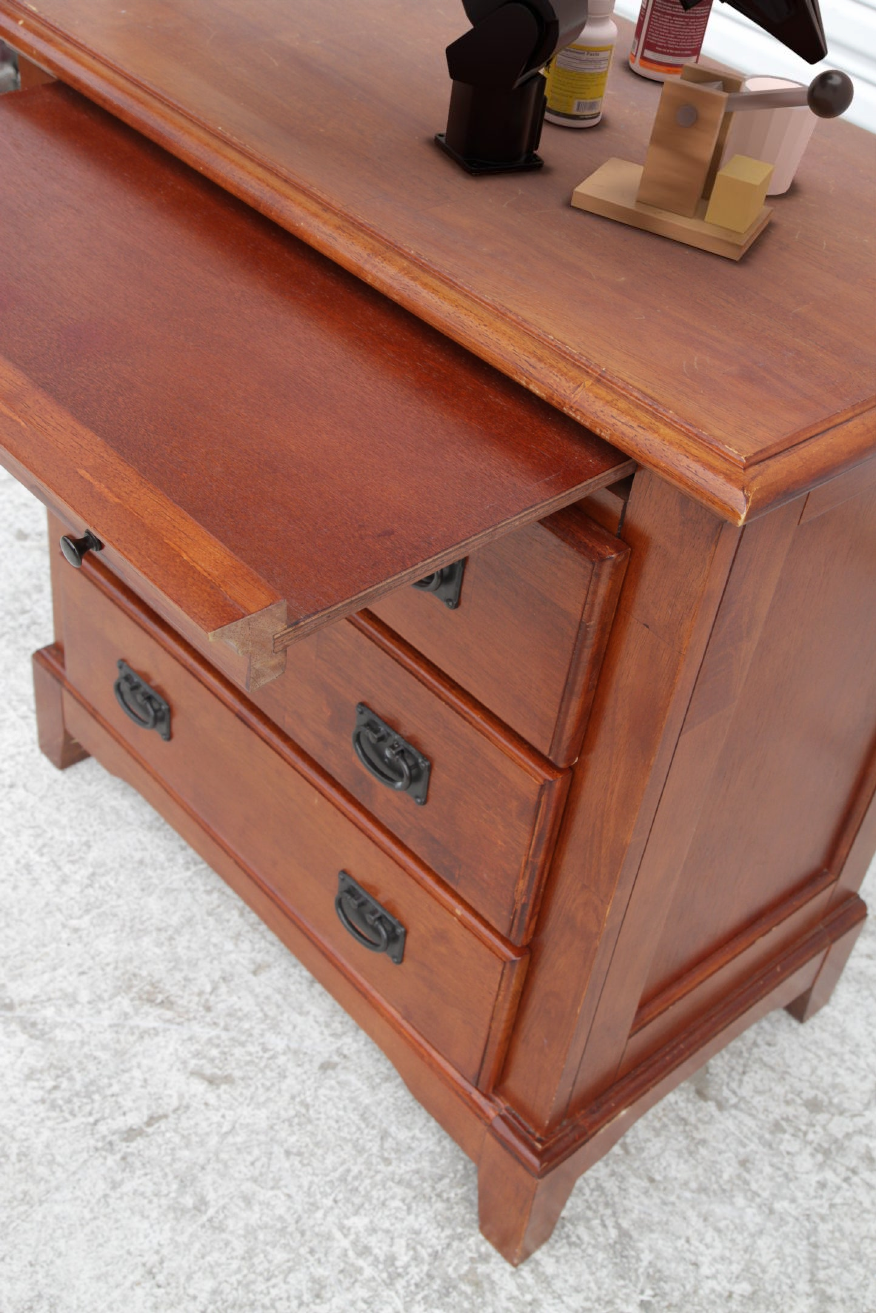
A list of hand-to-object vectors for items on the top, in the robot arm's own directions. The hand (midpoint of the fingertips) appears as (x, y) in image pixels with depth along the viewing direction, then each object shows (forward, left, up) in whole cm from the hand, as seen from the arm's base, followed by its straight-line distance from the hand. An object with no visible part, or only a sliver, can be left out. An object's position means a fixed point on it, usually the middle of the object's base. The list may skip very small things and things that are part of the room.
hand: (820, 60), depth 85 cm
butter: (-2, +2, -12) cm, 12 cm away
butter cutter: (-4, +6, -13) cm, 15 cm away
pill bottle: (+13, +32, -13) cm, 37 cm away
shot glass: (+7, +10, -13) cm, 18 cm away
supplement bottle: (-2, +24, -13) cm, 27 cm away
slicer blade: (-1, +2, -5) cm, 5 cm away
